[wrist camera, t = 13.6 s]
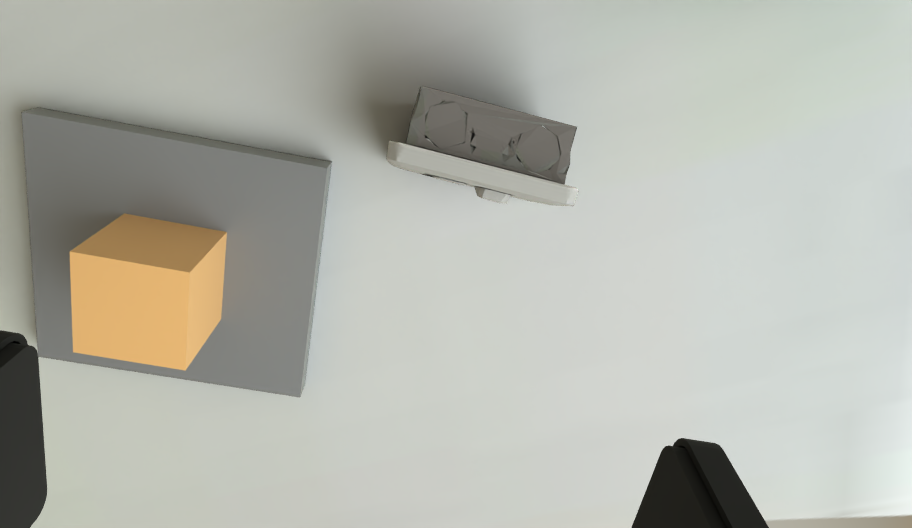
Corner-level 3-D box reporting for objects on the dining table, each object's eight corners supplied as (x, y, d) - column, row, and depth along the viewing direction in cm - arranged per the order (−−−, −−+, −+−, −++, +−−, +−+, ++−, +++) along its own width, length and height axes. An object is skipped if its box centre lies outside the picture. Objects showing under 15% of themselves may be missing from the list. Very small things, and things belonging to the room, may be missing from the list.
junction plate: (37, 107, 37) (-42, 130, 31) (331, 161, 39) (309, 193, 33) (51, 344, 44) (-13, 401, 38) (304, 384, 45) (282, 445, 39)
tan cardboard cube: (124, 213, 38) (69, 251, 33) (226, 231, 39) (189, 272, 33) (124, 302, 41) (73, 352, 35) (221, 319, 41) (185, 370, 36)
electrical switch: (389, 162, 39) (376, 194, 30) (408, 75, 37) (401, 82, 29) (538, 200, 40) (568, 241, 31) (563, 116, 38) (602, 135, 30)
